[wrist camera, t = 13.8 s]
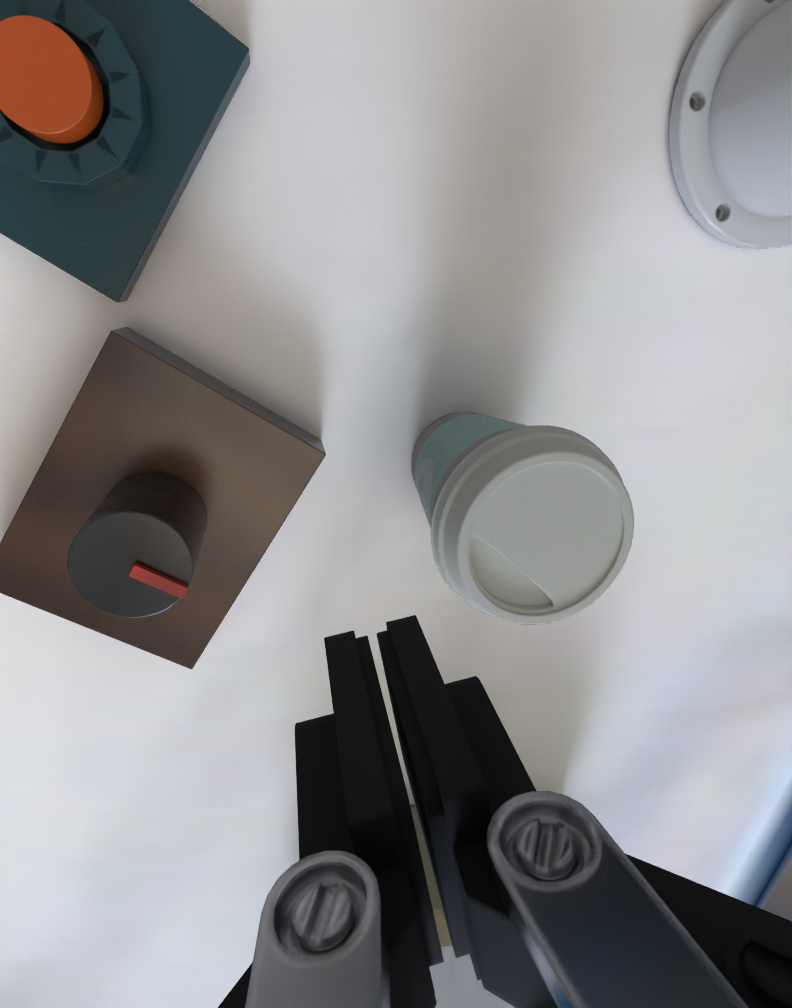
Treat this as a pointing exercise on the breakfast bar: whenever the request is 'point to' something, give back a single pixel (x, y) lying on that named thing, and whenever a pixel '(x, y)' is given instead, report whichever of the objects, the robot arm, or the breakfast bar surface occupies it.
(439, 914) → the tissue box
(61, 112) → the button
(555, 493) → the coffee cup
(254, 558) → the panel
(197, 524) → the knob
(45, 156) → the button box
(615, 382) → the breakfast bar surface
